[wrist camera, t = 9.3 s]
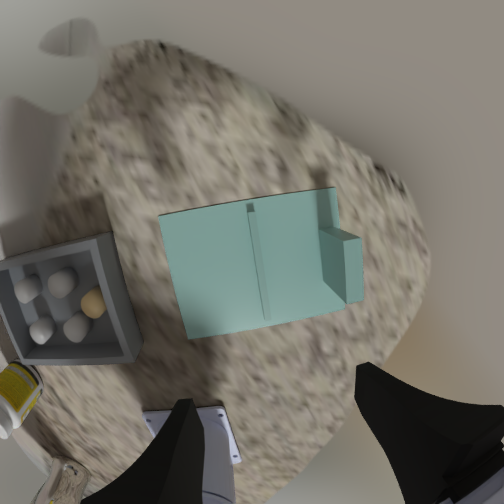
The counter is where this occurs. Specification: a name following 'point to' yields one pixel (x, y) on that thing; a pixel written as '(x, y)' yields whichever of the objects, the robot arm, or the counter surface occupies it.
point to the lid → (261, 262)
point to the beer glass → (63, 483)
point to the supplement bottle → (17, 395)
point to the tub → (69, 304)
